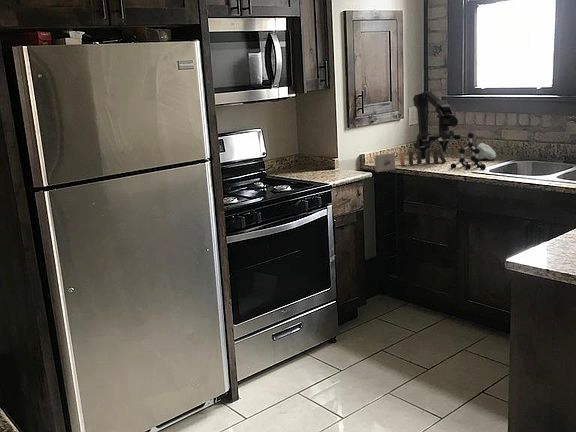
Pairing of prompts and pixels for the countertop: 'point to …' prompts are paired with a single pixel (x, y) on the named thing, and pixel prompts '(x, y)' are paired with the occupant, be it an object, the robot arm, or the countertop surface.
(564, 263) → the countertop surface
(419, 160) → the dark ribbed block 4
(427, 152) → the domino
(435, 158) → the domino
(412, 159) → the domino
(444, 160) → the domino
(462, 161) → the molecular model
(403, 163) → the domino
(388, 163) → the fossil
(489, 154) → the decorative stone
